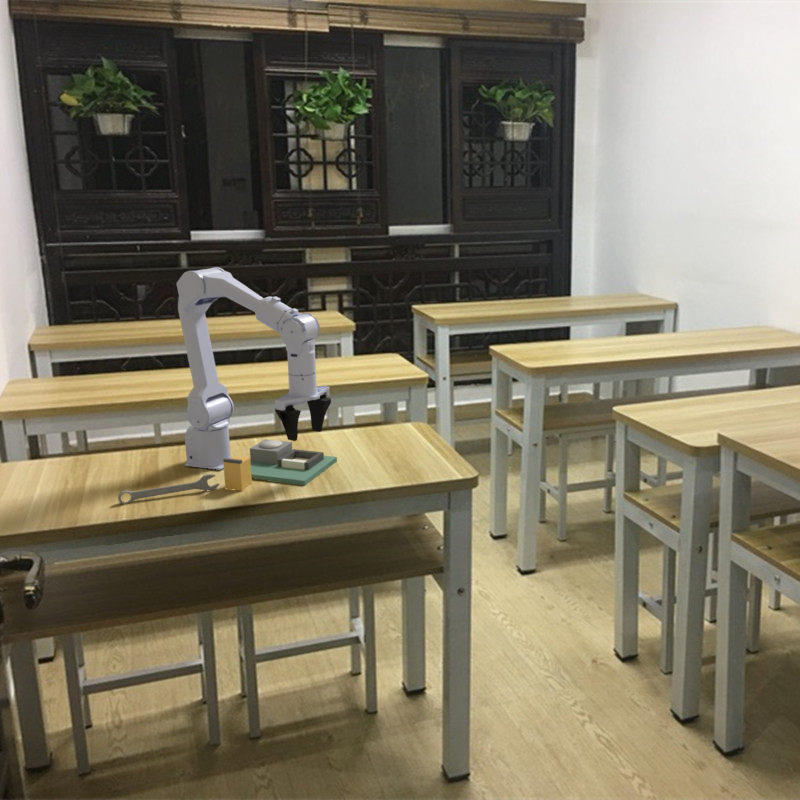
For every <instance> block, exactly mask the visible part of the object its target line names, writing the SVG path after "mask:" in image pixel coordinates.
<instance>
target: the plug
mask: <svg viewBox="0 0 800 800" xmlns="http://www.w3.org/2000/svg"><path fill="white" fill-rule="evenodd" d="M223 461H224V462H223V465H224V468H223V473H224V474H223V475H224V487H225V488H227V489H226V490H228V489H235V490H234V491H236V490H241V491H240V492H243V491H245V490H246V489H247V488H246V487H248V486H249V485H251V484H252V485H253V481H252V480H253V479H252V477H251V462H250V457H245V456H237V455H236V456H235V455H233V456H232V457H231V458H225V459H223ZM252 485H251V486H252ZM249 487H250V486H249ZM249 487H248V488H249ZM225 488H224V489H225ZM245 488H246V489H245ZM244 489H245V490H244ZM242 490H243V491H242Z"/></svg>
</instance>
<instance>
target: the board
mask: <svg viewBox="0 0 800 800" xmlns="http://www.w3.org/2000/svg"><path fill="white" fill-rule="evenodd" d="M249 455H250V456H249V458H250V462H251V477H252V478H254V479H253V480H258V479H262V480H261V481H266V480H269V482H274V481H275V482H276V483H283V484H291V485H298V486H306V485H308V484H309V483H310V482H311V481H313V480H314V479H316V476H317V477H319V475H321V474H323V472H324V471H326V470H327V469H329V468H330V467H332V466H333V465H334V464H336V463H337V461H338V456H333V455H332V456H329V455H325V454H324V452H323V451H316V450H315V451H314V450H306V449H305V450H304V449H295V448H294V449H293V441H284V440H275V439H263V440H261V441H260V442H259V443H257V444H255V445H253V446H252V447H250V448H249ZM275 482H274V483H275Z"/></svg>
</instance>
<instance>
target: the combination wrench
mask: <svg viewBox="0 0 800 800" xmlns="http://www.w3.org/2000/svg"><path fill="white" fill-rule="evenodd" d="M214 477H216V474H213V473H211V474H209V473H208V474H204V475H202V476H201V477H200V479H198V480H196V481H193V482H186V483H180V484H174V485H168V486H167V485H166V486H161V487H155V488H153V487H152V488H148V489H141V490H131V491H130V490H128V489H126V490H123V491H122V490H121V492H119V494H118V497H117V498H118V502H119V504H122V505H125V504H127V505H128V504H131V503H132V502H134V501H136V500H139V499H145V498H151V497H157V496H162V495H168V494H169V495H170V494H174V493H180V492H185V491H190V490H200V491H201V490H202V491H204V492H208V491H207V490H213V491H215V490H214V489H217V488H218V487H219V486H220V483H215V484H213V485H210V484H209V483H208V480H210V479H212V478H214ZM124 494H129V495H130V500H128V501H123V500H122V496H123V495H124Z"/></svg>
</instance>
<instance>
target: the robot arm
mask: <svg viewBox="0 0 800 800" xmlns="http://www.w3.org/2000/svg"><path fill="white" fill-rule="evenodd" d="M176 288H177V292H178V300H177V301H178V302H177V311H178V315H179V320H180V321H179V322H180V325H181V329H182V335H183V340H184V345H185V351H186V355H187V360H188V365H189V369H190V373H191V380H192V385H193V387H192V389H191V390H190V392H189V393H188V395H187V396H186V400H187V408H186V416H187V420H188V422H189V424H190V425H189V426H187V427H188V428H187V429H186V431H185V434H184V443H185V444H184V445H185V456H186V463H184V466H185V467H191V468H200V469H207V468H208V470H215V469H216V471H221V470H224V465H223V462H224V461H223V459H225V458H231V457H233V456H231V445H230V444H231V443H230V432H229V424H230V423H231V422H230V419H231V417H232V416H233V414H234V412H235V404H234V402H233V400H232V397H230V395H229V392H228V388H227V387H226V386H225V384H222V383H221V382H219V377H218V371H217V367H216V361H215V357H214V356H215V355H214V352H213V347H212V343H211V336H210V331H209V327H208V326H209V325H208V321H207V317H206V313H207V311H208V310H209V308H210V306H211V305H212V304H213V303H214V302H215V301H217V300H218V299H219V298H221V297H222V298H224V297H225V298H227V299H229V300H231V301H232V302H235V303H236V304H238V305H240V306H243V307H245V308H247V310H250V311H252V312H253V313H255V318H256V320H257V321H258V322H260V323H261V324H264V325H265V326H266V327H269V328H270V329H271V330H273V331H274V332H277V333H278V334H279V335H280V338H281V339H282V341H283V342H284V344H285V350H286V351H287V371H288V372H287V374H288V390H289V391H288V393H287V394H285V395H283V396H281V397H279V398H277V399H275V400H274V412H275V414H276V415H277V417H278V418H279V419H280V421H281V424H282V425H283V428H284V432H285V434H286V438H287V440H288V441H291V442H296V441H297V440H298V437H299V434H298V431H299V429H298V425H299V418H300V416H301V412H302V410H300V409H297V408H295V407H294V406H298V405H300V404H303V403H307V406H308V409H309V414H310V423H311V430H312V431H314V432H317V433H320V432H323V431H322V430H323V426H324V422H325V421H324V420H325V417H326V414H327V412H328V409H329V407H330V405H331V404H332V399H331V397H330V395H331V391H330V386H326V385H321V386H317V366H316V342H315V339H316V338H318V336H319V334H320V323H319V321H318V319H317V318H316V317H315V316H314V315H313V314H311V313H310V312H302V313H301V312H299V309H297V308H292V307H290V306H288V305H287V304H285V303H283V302H282V301H281V298H280V297H278V296H267V297H263V296H260V295H259V294H258V293H257V292H255V291H253V290H252V289H250V288H249V287H248V286H247V285H245V284H244V283H242V282H240V281H239V280H238V279H236V278H234V277H233V274H232V273H231V272H229V271H227V270H224V269H223V268H222V267H218V266H214V267H211V268H206V269H205V268H203V269H199V270H188V271H185V272H184V273H182V275H181V276H180V277H179V279H178V280H177V281H176ZM329 397H330V398H329Z"/></svg>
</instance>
